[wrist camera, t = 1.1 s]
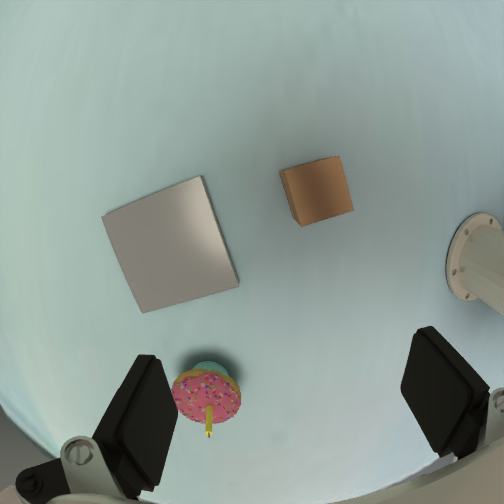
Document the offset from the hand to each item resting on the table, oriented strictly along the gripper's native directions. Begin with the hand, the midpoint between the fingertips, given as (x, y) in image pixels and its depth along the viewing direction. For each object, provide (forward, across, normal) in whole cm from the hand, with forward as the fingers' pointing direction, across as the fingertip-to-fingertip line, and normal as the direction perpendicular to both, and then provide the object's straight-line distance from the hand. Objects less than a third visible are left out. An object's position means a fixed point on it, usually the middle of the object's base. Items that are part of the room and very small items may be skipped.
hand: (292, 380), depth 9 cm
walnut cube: (+21, -5, -5) cm, 22 cm away
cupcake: (+21, +9, +17) cm, 29 cm away
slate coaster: (+21, +10, 0) cm, 24 cm away
